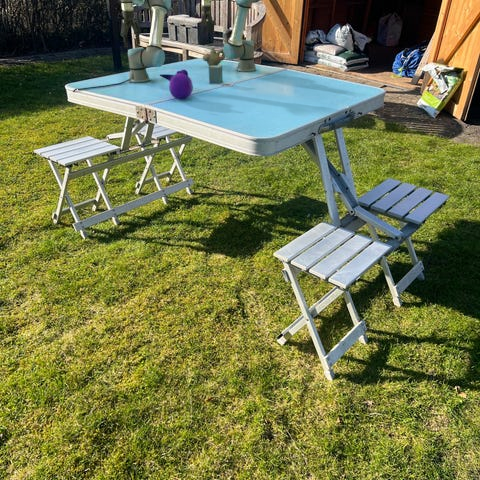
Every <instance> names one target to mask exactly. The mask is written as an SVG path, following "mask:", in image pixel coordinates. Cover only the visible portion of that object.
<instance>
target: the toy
mask: <svg viewBox="0 0 480 480" xmlns="http://www.w3.org/2000/svg"><path fill="white" fill-rule="evenodd" d="M159 76H160V77H161V78H163V79H165V80H167V81H169V84H168V88H169V92H170V95H171V96H172V97H173V98H174V99H177V100H186V99H188V98H189V97H190V95H191V94H192V93H193V91H194V85H193V81H192V78H191V77H189V73H188V70H186V69H181V70H177V71H176V73H175V74H168V73H167V74H165V73H163V74H162V73H161V74H159Z"/></svg>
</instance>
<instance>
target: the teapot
mask: <svg viewBox="0 0 480 480" xmlns="http://www.w3.org/2000/svg"><path fill="white" fill-rule="evenodd" d="M220 55H221V56H220ZM225 59H226V57H225V55H224V52H223V48H222V49H219V50H218V51H217V50H216V49H215V47H211V50H210V51H209V53H205V54H203V56H202V60H203V61H204V62H206V63H207V65H208V67H210V66H212V65H213V66H219V65H220V64H221V62H223V61H224V60H225Z"/></svg>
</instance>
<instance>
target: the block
mask: <svg viewBox="0 0 480 480" xmlns="http://www.w3.org/2000/svg"><path fill="white" fill-rule="evenodd" d="M208 81H209V84H210V85H211V84H215V85H221V84H222V83H223V65H217V66H213V65H212V66H208Z"/></svg>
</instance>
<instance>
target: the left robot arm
mask: <svg viewBox="0 0 480 480" xmlns="http://www.w3.org/2000/svg"><path fill="white" fill-rule="evenodd" d="M120 5H121V11H122V12H121V13H122V18H124V19H121V25H120V26H121V27H120V36H121V37H122V39H123V45H124V49H125V48H126V49H127V48H128V49H127V57H128V66H129V76H128V79H127V80H123V81H122V82H118V83H111V84H105V85H104V84H103V85H96V86H87V87H81V88H75V89H73V90H72V93H75V92H76V91H83V90H91V89H98V88H105V87H111V86H112V87H113V86H118V85H123V84H125V83H127V82H129V83H133V84H141V83H148V82H150V75H149V74H148V71H147V68H161V67H162V66H163V65H164V63H165V61H166V56H165V55H166V54H165V51H164V49H163V47H162V42H163V39H162V38H163V31H164V23H165V15H166V14H167V13H168V10H170V9H171V8H172V0H120ZM134 5H135V6H137V7H141V8H143V9H147V10H151V12H152V14H151V15H152V17H151V24H150V32H149V42H148V44H147V45H146V49H145V48H144V47H142V46H141V47H134V48H130V49H129V47H130V46H129V37H128V32H129V30H130V28H131V29H132V30H133V31H134V33H135V34H134V37H135V45H136V46H140V45H141V39H140V38H141V37H140V35H141V33H142V30H141V28H140V25H139V23H138V19H137V18H136V17H135V15H136V14H135V10H134ZM77 89H78V90H77ZM77 131H79V129H77Z"/></svg>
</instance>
